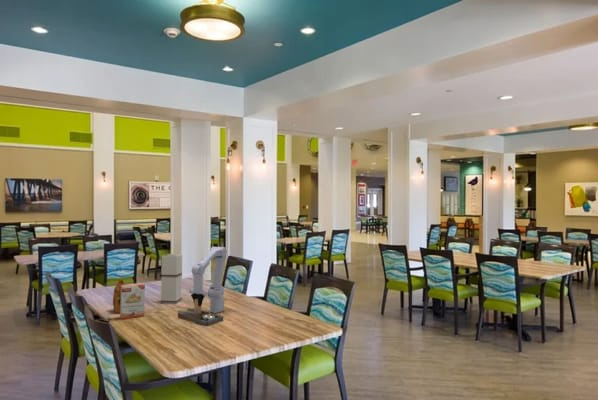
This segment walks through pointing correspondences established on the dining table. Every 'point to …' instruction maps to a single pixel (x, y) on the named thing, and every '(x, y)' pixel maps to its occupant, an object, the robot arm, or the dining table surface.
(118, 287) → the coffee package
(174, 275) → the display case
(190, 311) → the slot board
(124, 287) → the cracker box
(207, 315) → the chip
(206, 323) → the tray
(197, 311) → the brown block with knob
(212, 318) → the chip
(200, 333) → the dining table surface
